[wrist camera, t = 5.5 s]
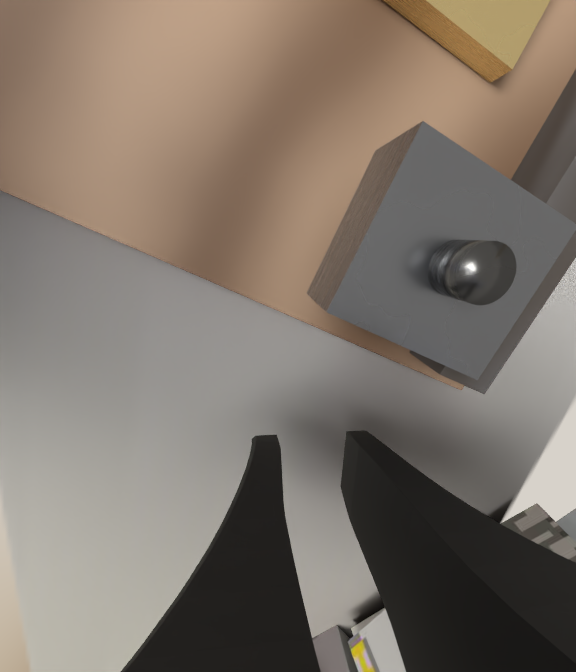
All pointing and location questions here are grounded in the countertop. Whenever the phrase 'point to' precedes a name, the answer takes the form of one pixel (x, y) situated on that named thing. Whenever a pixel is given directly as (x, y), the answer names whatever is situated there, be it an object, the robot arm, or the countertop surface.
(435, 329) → the knobbed plate
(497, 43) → the yellow rectangular block
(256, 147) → the brown wooden board
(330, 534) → the countertop surface
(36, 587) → the countertop surface
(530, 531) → the toy figure
